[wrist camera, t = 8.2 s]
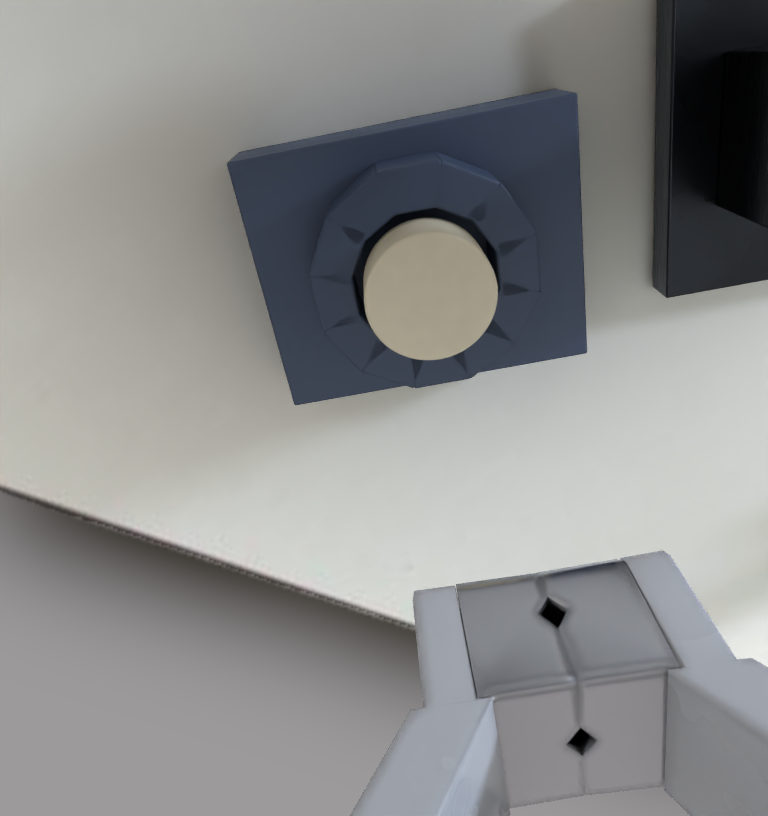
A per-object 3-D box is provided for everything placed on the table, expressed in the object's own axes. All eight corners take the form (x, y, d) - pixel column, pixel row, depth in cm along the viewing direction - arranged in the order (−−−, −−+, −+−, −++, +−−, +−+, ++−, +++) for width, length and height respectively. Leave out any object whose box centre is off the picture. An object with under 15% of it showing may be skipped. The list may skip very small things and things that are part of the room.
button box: (238, 152, 21) (214, 173, 17) (556, 88, 20) (598, 96, 17) (299, 378, 25) (290, 432, 21) (568, 329, 24) (605, 376, 21)
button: (352, 230, 19) (351, 246, 17) (480, 205, 18) (491, 219, 17) (375, 346, 20) (377, 371, 19) (493, 325, 20) (504, 348, 19)
